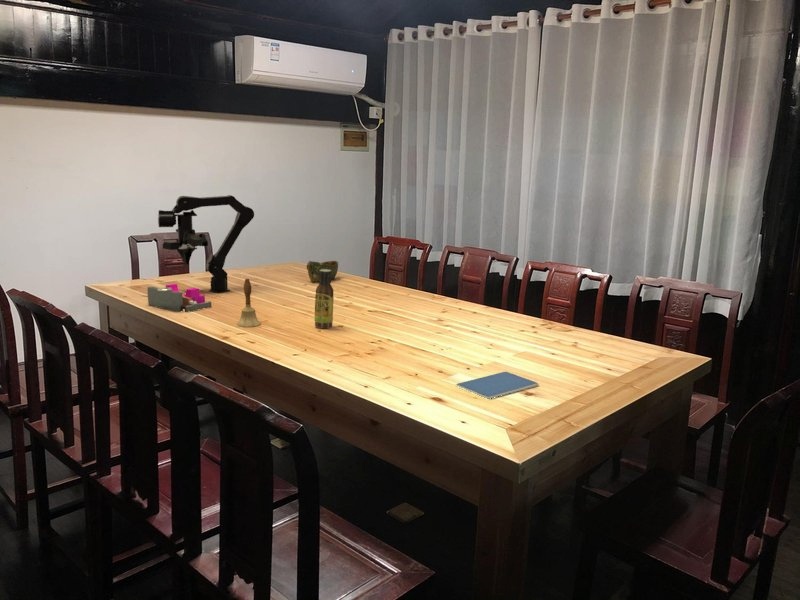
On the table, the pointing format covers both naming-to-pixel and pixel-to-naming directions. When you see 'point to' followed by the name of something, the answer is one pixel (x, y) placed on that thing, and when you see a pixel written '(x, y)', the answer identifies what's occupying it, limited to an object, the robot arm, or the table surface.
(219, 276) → the robot arm
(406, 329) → the table surface
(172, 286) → the toy block
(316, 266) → the dark green lobed piece
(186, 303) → the gauge plunger
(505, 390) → the blue notebook
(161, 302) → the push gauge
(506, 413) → the table surface
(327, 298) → the sauce bottle
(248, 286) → the hand bell
